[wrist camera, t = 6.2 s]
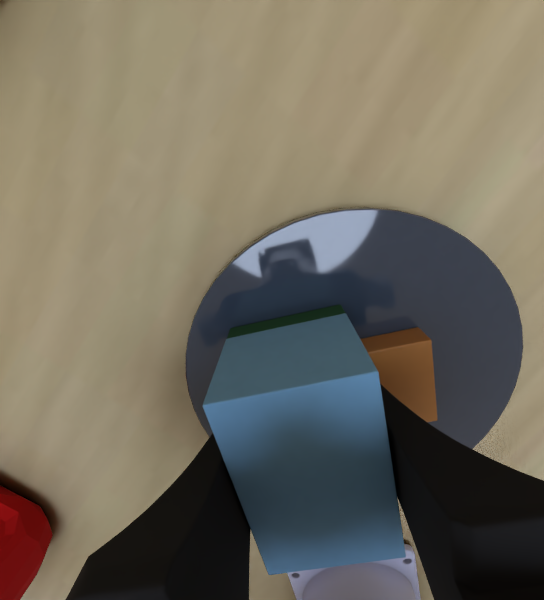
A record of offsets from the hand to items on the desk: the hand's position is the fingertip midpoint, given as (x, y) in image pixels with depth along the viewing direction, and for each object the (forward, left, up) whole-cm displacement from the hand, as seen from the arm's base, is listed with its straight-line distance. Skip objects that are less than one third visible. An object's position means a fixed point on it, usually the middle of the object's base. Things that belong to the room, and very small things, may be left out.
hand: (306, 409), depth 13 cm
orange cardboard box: (0, -4, -1) cm, 4 cm away
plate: (0, -2, -2) cm, 3 cm away
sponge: (0, 0, -1) cm, 1 cm away
